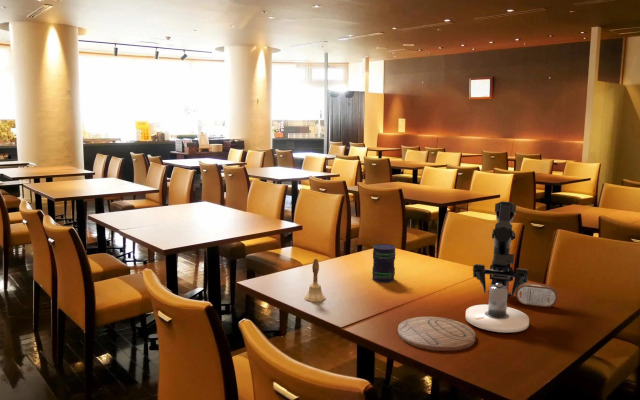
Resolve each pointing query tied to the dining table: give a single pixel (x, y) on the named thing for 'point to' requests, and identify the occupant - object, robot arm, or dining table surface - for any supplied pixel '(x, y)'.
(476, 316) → the turntable
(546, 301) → the tin
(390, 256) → the storage jar
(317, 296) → the hand bell
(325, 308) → the dining table surface
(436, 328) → the trivet
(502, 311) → the grey metal cylinder
